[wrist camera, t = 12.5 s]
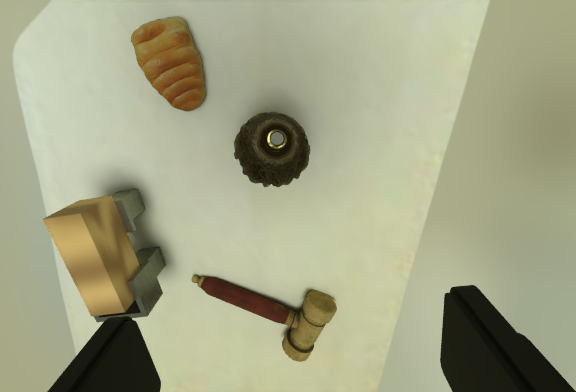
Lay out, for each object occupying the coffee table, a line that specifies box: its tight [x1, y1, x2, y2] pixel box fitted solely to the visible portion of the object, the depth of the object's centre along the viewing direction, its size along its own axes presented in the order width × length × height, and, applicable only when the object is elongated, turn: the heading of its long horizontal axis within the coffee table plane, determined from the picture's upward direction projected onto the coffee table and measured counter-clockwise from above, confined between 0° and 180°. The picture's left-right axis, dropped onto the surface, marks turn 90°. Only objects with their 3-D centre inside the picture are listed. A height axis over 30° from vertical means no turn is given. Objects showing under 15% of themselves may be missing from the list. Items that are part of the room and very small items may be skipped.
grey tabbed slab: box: [112, 189, 145, 232], centre depth 37 cm, size 4×6×6 cm, turn 100°
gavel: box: [192, 276, 337, 362], centre depth 43 cm, size 21×5×10 cm
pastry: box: [131, 17, 205, 111], centre depth 32 cm, size 9×7×4 cm
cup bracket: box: [94, 247, 166, 322], centre depth 38 cm, size 5×6×10 cm
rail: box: [43, 195, 140, 316], centre depth 33 cm, size 12×4×5 cm, turn 10°
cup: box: [234, 112, 310, 187], centre depth 32 cm, size 8×7×8 cm
